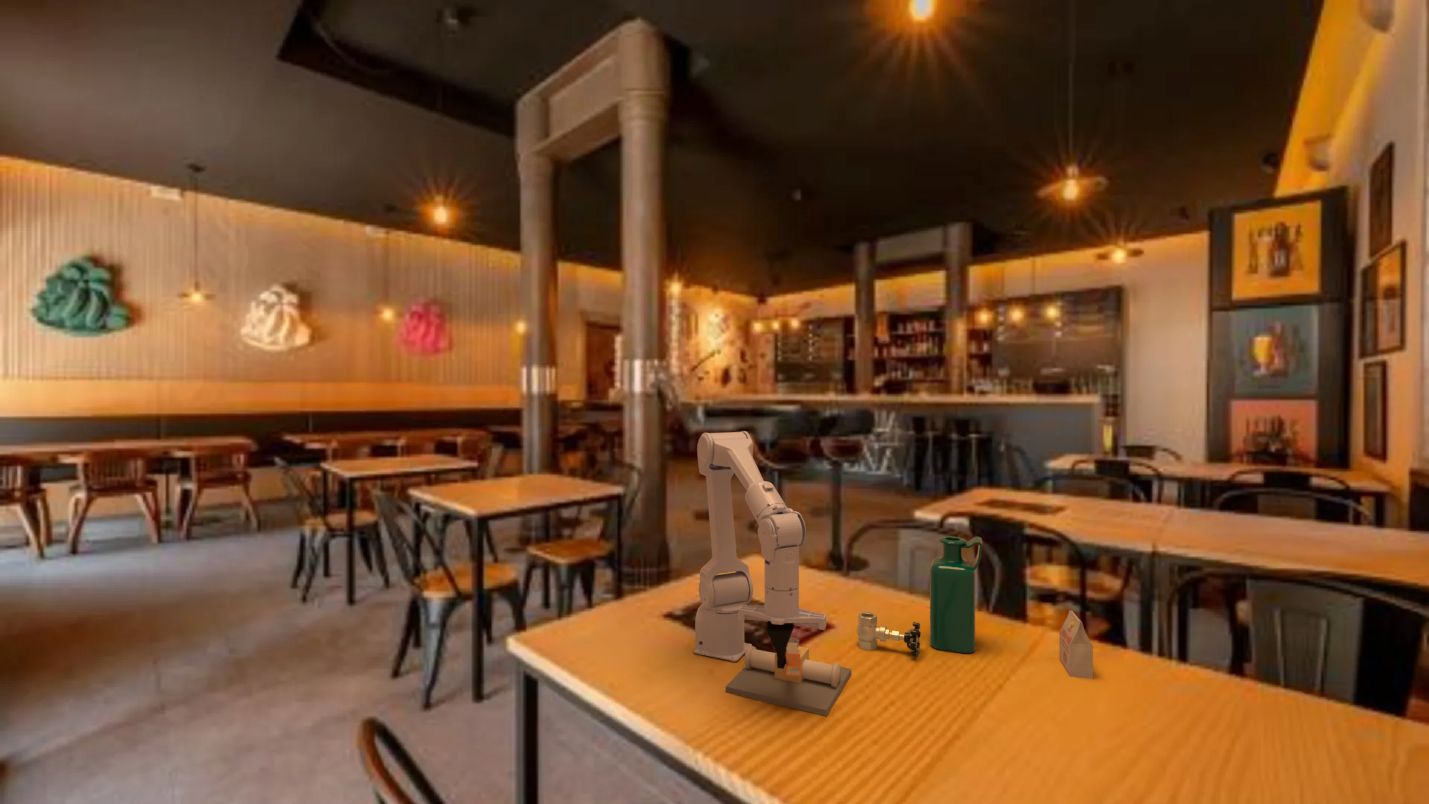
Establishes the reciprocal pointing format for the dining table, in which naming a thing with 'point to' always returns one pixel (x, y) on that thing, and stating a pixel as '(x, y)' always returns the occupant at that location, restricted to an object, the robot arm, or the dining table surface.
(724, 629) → the robot arm
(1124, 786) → the dining table surface
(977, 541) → the pitcher
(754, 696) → the pipe board
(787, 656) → the valve lever
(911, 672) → the dining table surface
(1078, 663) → the milk carton
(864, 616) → the valve
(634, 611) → the dining table surface
